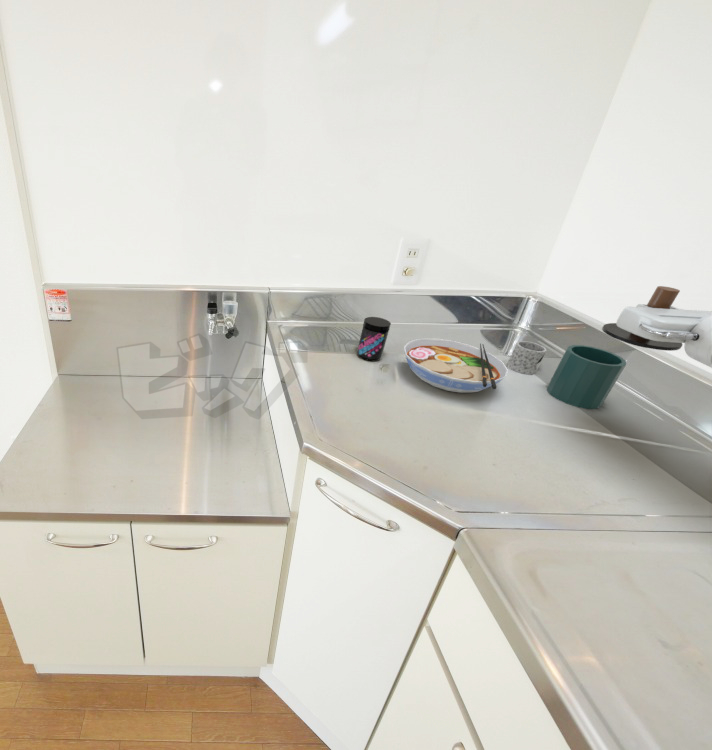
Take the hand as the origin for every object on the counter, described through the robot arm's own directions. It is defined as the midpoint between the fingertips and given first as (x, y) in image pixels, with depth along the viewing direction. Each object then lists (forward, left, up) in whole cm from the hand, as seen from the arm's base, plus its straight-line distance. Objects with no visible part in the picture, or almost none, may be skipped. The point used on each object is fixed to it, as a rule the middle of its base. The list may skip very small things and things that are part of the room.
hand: (651, 308), depth 79 cm
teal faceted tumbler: (-2, -11, -27) cm, 29 cm away
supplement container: (+44, -18, -27) cm, 55 cm away
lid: (0, +1, -5) cm, 5 cm away
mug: (+4, -28, -27) cm, 39 cm away
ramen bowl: (+26, -9, -27) cm, 39 cm away
